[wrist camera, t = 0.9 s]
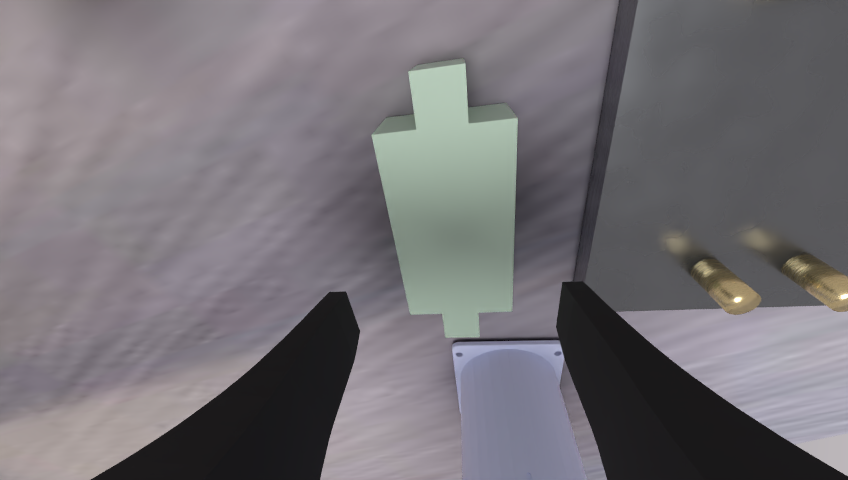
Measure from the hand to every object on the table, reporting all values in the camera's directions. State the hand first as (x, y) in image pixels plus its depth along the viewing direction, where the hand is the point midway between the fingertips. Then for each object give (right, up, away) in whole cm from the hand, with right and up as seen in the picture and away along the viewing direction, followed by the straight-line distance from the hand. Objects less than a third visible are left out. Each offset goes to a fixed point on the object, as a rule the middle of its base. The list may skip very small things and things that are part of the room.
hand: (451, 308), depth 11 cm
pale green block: (+1, +4, +7) cm, 8 cm away
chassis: (+15, +7, +3) cm, 17 cm away
